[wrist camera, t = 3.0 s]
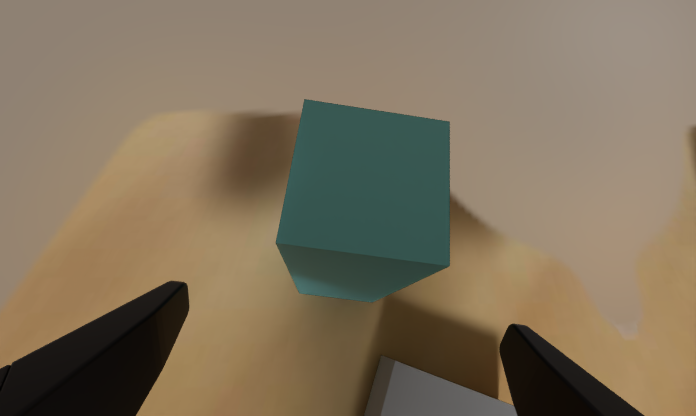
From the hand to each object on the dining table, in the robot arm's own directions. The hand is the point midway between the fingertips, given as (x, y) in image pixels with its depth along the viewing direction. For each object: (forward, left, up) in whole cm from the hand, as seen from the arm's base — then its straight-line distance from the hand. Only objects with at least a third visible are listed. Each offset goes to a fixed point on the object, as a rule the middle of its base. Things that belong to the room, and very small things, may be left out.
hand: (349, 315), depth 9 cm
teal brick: (+2, -3, -10) cm, 11 cm away
